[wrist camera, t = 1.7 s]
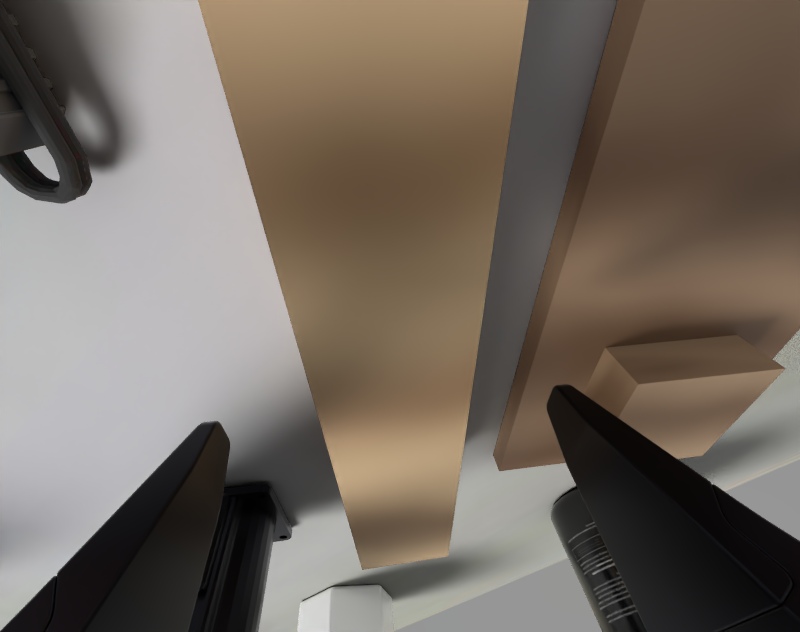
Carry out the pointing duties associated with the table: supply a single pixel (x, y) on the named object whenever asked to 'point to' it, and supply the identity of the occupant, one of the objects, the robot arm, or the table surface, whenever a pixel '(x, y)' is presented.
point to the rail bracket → (672, 231)
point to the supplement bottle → (594, 566)
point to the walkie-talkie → (34, 125)
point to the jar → (347, 610)
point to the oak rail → (379, 226)
